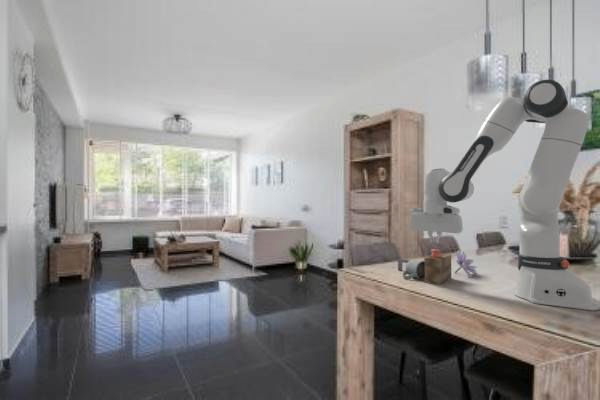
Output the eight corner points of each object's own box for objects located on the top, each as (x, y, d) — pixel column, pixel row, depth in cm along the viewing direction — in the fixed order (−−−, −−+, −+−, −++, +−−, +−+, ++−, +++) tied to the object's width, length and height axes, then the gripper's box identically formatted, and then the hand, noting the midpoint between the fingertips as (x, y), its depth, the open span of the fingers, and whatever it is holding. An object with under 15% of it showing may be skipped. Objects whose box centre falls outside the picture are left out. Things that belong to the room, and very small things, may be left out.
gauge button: (441, 264, 132) (441, 249, 132) (438, 265, 130) (438, 250, 130) (433, 263, 134) (432, 248, 134) (429, 264, 132) (429, 249, 132)
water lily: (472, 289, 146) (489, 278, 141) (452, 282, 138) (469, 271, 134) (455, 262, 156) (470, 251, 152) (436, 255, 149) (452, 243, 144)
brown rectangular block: (451, 278, 137) (451, 254, 137) (440, 284, 127) (439, 259, 127) (435, 276, 142) (435, 253, 142) (423, 282, 131) (423, 257, 131)
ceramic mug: (417, 274, 145) (417, 257, 145) (431, 278, 137) (430, 260, 137) (398, 277, 141) (397, 259, 141) (411, 281, 133) (410, 263, 133)
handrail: (439, 275, 143) (439, 263, 143) (438, 276, 142) (438, 264, 142) (398, 269, 155) (398, 258, 155) (397, 270, 154) (397, 259, 154)
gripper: (407, 208, 137) (406, 241, 137) (459, 209, 123) (458, 246, 123) (413, 208, 141) (412, 239, 141) (464, 209, 128) (463, 244, 128)
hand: (434, 242), depth 132 cm, fingers closed
